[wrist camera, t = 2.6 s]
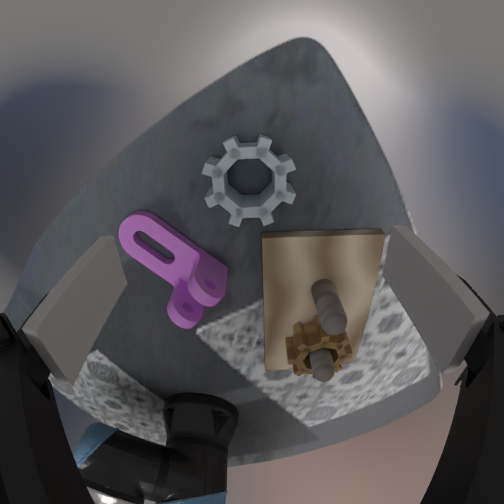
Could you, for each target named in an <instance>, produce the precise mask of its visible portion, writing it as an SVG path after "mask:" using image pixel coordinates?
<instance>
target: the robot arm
mask: <svg viewBox="0 0 504 504" xmlns="http://www.w3.org/2000/svg"><path fill="white" fill-rule="evenodd" d="M382 275H383V277H384V278H385V280H386V281H387V283H388V284H389V286H390V287H391V289H392V290H393V292H394V293H395V295H396V297H397V298H398V300H399V301H400V303H401V304H402V306H403V308H404V309H405V311H406V312H407V314H408V316H409V317H410V319H411V321H412V322H413V324H414V326H415V327H416V329H417V331H418V332H419V334H420V336H421V337H422V339H423V341H424V343H425V344H426V346H427V348H428V350H429V352H430V353H431V355H432V357H433V359H434V361H435V363H436V364H437V366H438V368H439V370H440V372H441V374H442V375H443V374H447V373H449V372H453V371H455V370H457V369H458V367H459V366H460V364H461V362H462V361H463V360H465V361H466V363H467V366H466V368H465V369H464V371H463V372H462V373H461V375H460V376H459V378H458V379H457V381H456V383H455V385H457V384H458V383H459V381H461V380H462V383H461V385H460V387H461V388H460V393H459V397H458V401H457V405H456V409H455V414H454V417H453V421H452V425H451V428H450V431H449V434H448V437H447V440H446V443H445V446H444V449H443V452H442V455H441V458H440V460H439V463H438V465H437V468H436V470H435V473H434V475H433V478H432V480H431V482H430V484H429V486H428V489H427V491H426V493H425V495H424V497H423V499H422V501H421V503H420V504H504V315H498V316H497V317H496V315H495V314H494V313H493V312H492V310H491V309H490V308H489V307H488V306H487V305H486V303H485V302H484V301H483V300H482V299H481V298H480V296H477V293H476V292H475V291H474V290H473V289H472V287H471V286H470V285H469V284H468V283H467V282H466V281H465V280H464V279H462V278H461V277H459V276H458V275H456V274H455V273H454V272H453V271H452V270H451V269H450V268H449V267H448V266H447V265H446V264H445V263H444V262H443V261H442V260H441V259H440V258H439V257H438V256H437V255H436V254H435V253H434V252H433V251H432V250H431V249H430V248H429V247H428V246H427V245H426V244H425V243H424V242H423V241H422V240H421V239H420V238H419V237H418V236H416V235H415V234H414V233H413V232H412V231H411V230H410V229H409V228H408V227H407V226H405V225H392V229H391V235H390V240H389V245H388V250H387V255H386V260H385V265H384V269H383V273H382ZM126 285H127V282H126V279H125V275H124V272H123V269H122V265H121V262H120V258H119V255H118V251H117V248H116V244H115V240H114V236H102V237H100V238H99V239H98V240H97V241H96V242H95V243H94V244H93V245H92V246H91V247H90V248H89V249H88V250H87V251H86V252H85V253H84V254H83V255H82V256H81V257H80V258H79V260H78V261H77V262H76V263H75V264H74V265H73V266H72V267H71V268H70V269H69V270H68V272H67V273H66V274H65V275H64V276H63V277H62V278H61V280H60V281H59V282H58V283H57V284H56V285H55V287H54V288H53V289H52V290H51V291H50V292H49V293H48V294H47V295H45V297H44V298H43V299H42V300H41V301H40V303H39V305H37V306H36V308H35V309H34V311H33V312H32V313H31V314H30V315H29V317H28V318H27V319H26V321H25V322H24V323H23V325H22V326H21V327H20V329H19V330H18V332H17V333H16V331H15V329H14V328H13V326H12V324H11V323H10V321H9V319H8V317H7V316H6V315H5V314H4V313H0V504H144V500H145V499H146V500H150V501H154V502H156V503H155V504H225V501H226V494H227V458H228V446H229V443H230V441H231V439H232V437H233V434H234V432H235V430H236V427H237V425H238V411H237V409H236V408H235V407H234V406H233V405H231V404H230V403H228V402H226V401H224V400H222V399H219V398H216V397H213V396H209V395H203V394H194V393H185V394H177V395H174V396H171V397H169V398H168V399H167V400H166V401H165V404H164V409H163V417H164V423H165V429H166V435H167V441H166V446H163V445H160V444H156V443H153V442H150V441H148V440H145V439H142V438H139V437H136V436H134V435H131V434H128V433H126V432H123V431H121V430H119V428H113V427H111V426H108V425H106V424H103V423H100V422H94V423H92V424H90V425H89V426H88V427H87V429H86V430H85V432H84V433H83V435H82V437H81V439H80V440H79V442H78V444H77V446H76V448H75V450H74V453H73V454H72V451H71V449H70V446H69V443H68V440H67V438H66V434H65V432H64V428H63V425H62V422H61V419H60V415H59V412H58V408H57V404H56V400H55V396H54V392H53V388H52V384H51V382H50V380H49V379H48V377H49V375H50V373H52V375H53V376H54V377H55V378H56V380H57V381H58V382H59V383H63V384H66V385H70V386H73V385H74V383H75V380H76V378H77V376H78V374H79V372H80V370H81V368H82V366H83V364H84V362H85V360H86V358H87V356H88V354H89V352H90V350H91V348H92V346H93V344H94V342H95V340H96V338H97V336H98V334H99V333H100V331H101V329H102V327H103V325H104V323H105V321H106V320H107V318H108V316H109V314H110V312H111V311H112V309H113V307H114V305H115V304H116V302H117V300H118V299H119V297H120V295H121V293H122V292H123V290H124V288H125V287H126Z"/></svg>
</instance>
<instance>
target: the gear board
mask: <svg viewBox="0 0 504 504" xmlns="http://www.w3.org/2000/svg"><path fill="white" fill-rule="evenodd" d="M385 235H386V234H385V233H384V232H383V231H382V230H381V229H356V230H316V231H285V232H262V264H263V303H264V349H265V371H269V370H287V369H293V371H294V374H295V375H297V376H300V375H302V374H303V373H308V374H313V378H316V379H317V380H319V381H322V382H325V381H328V380H330V379H331V378H332V377H333V375H334V371H335V372H337V371H339V370H341V369H342V366H341V364H346V363H353V362H354V359H355V356H356V353H357V350H358V347H359V344H360V341H361V337H362V334H363V331H364V327H365V324H366V320H367V317H368V313H369V309H370V305H371V301H372V297H373V293H374V289H375V285H376V281H377V276H378V272H379V267H380V262H381V257H382V252H383V247H384V241H385Z"/></svg>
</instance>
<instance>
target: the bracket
mask: <svg viewBox="0 0 504 504" xmlns="http://www.w3.org/2000/svg"><path fill="white" fill-rule="evenodd" d="M137 231H143V232H145V233H146V234H147V235H149V236H150V237H151V238H153V239H154V240H156V241H157V242H158V243H160V244H161V245H163V246H164V247H165V248H167V249H168V250H170V251H171V252H172V253H173V254H174V256H175V258H174V259H168V258H166V257H164V256H163V255H162V254H160V253H159V252H157V251H156V250H155V249H153V248H152V247H150V246H149V245H148V244H146V243H145V242H143V241H142V240H141V239H140V238H139V237H138V236H137ZM119 240H120V243H121V245H122V247H123V249H124V250H125V251H126V252H127V253H128V254H129V255H131V256H132V257H133V258H135V259H136V260H138V261H139V262H140V263H142V264H143V265H145V266H146V267H147V268H149V269H150V270H152V271H153V272H155V273H156V274H158V275H159V276H161V277H162V278H163V279H165V280H166V281H168V282H169V283H171V284H172V285H173V286H174V289H173V292H172V295H171V297H170V300H169V303H168V306H167V313H168V315H169V317H170V319H171V320H172V321H173V322H174V323H175V324H176V325H178V326H179V327H181V328H185V329H190V328H192V327H193V326H194V325H195V324H196V323H197V322H199V321H200V320H201V318H202V315H203V310H204V306H208V307H212V306H214V305H216V304H217V303H218V302H219V301H220V300H221V299H222V298H223V297H224V295H225V290H226V282H227V274H228V267H227V266H225V265H224V264H222V263H221V262H219V261H218V260H217V259H215V258H214V257H212V256H211V255H210V254H208V253H207V252H205V251H204V250H202V249H201V248H200V247H198V246H197V245H195V244H194V243H193V242H191V241H190V240H189V239H187V238H186V237H184V236H183V235H182V234H180V233H179V232H177V231H176V230H175V229H173V228H172V227H171V226H169V225H168V224H166V223H165V222H164V221H162V220H161V219H160V218H158V217H157V216H155V215H154V214H152V213H150V212H147V211H137V212H134V213H132V214H130V215H129V216H128V217H127V218H126V219H125V220H124V221H123V222H122V224H121V225H120V228H119Z"/></svg>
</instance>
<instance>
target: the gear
mask: <svg viewBox="0 0 504 504" xmlns="http://www.w3.org/2000/svg"><path fill="white" fill-rule="evenodd" d="M271 143H272V140H271V139H270V137H267V136H265V135H262V134H259V136H258V139H257V142H253V143H240V142H239V140H238V138H237V136H236V135H234V136H232V137H230V138H228V139H226V140H225V141H224V142H223V145H224V147H225V149H226V151H227V152H226V153H225V154H224V155H223V157H222V158H221V159H219V158H216V157H212V156H211V157H210V158H209V159H208V160H207V161H206V163H205V165H204V168H203V171H202V174H204V175H207V176H211V177H212V183H213V186H211V187H210V188H209V190H208V192H207V194H206V196H205V198H204V199H205V201H206V203H207V205H208V206H209V208H211V207H213V206H215V205H217V204H220V205H221V206H222V207H223V208H224V209H226V210H227V211H228V212H229V213H230V219H229V224H231V225H234V226H237V227H239V226H240V223H241V221H242V218H258V217H260V219H261V221H262V223H263V225H264V226H266V225H268V224H270V223H273V222H274V219H273V214H272V211H273V210H274V209H275V208H276V207H277V206H278V205H279V204H280V203H281V202H282V201H284V202H286V203H289V204H292V203H293V201H294V199H295V196H296V193H295V191H294V190H293V188H292V186H291V184H290V183H287V182H286V174H287V173H289V172H291V171H294V170H296V168H295V165H294V163H293V161H292V159H291V158H290V157H289V155H288V154H287V153H284V154H282V155H280V156H276V155H275V154H274V153H273V152H272V151H271V150H270V149H269V148H270V146H271ZM255 158H259V159H260V160H262V161H263V162H264V163H265V164H266V165H267V166H268V167H269V168H270V169H271V170H272V182H271V183H270V184H269V185H268V186H267V187H266V188H265V189H264V190H263V191H262V192H261V193H260V194H254V195H241V194H240V193H239V192H237V191H236V190H235V189H234V188H233V187H232V186H230V185H229V184H228V173H227V170H228V169H229V168H230V167H231V166H232V165H233V164H234V163H235V161H236V160H237V159H255Z"/></svg>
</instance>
